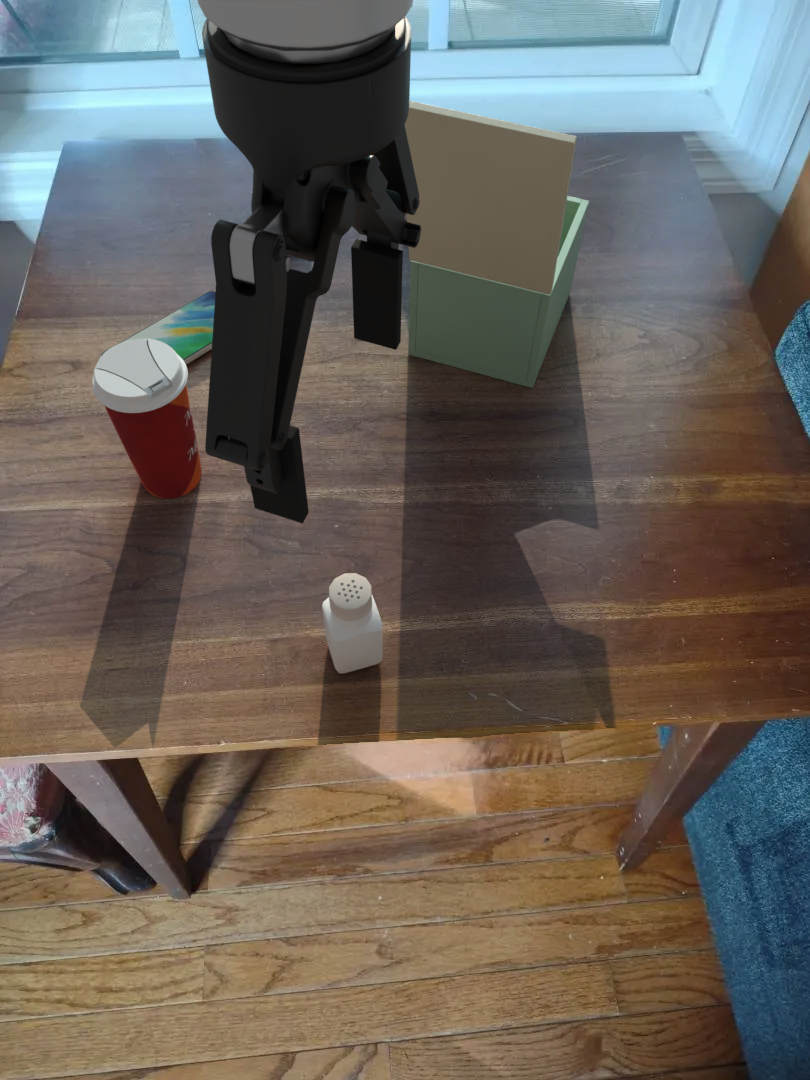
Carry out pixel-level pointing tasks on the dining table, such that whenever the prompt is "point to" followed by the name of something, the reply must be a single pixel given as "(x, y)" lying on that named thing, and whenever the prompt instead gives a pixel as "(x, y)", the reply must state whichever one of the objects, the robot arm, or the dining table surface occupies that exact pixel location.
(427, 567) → the dining table surface
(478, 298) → the case
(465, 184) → the cover
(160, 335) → the smartphone
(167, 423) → the paper cup
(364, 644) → the pepper shaker
